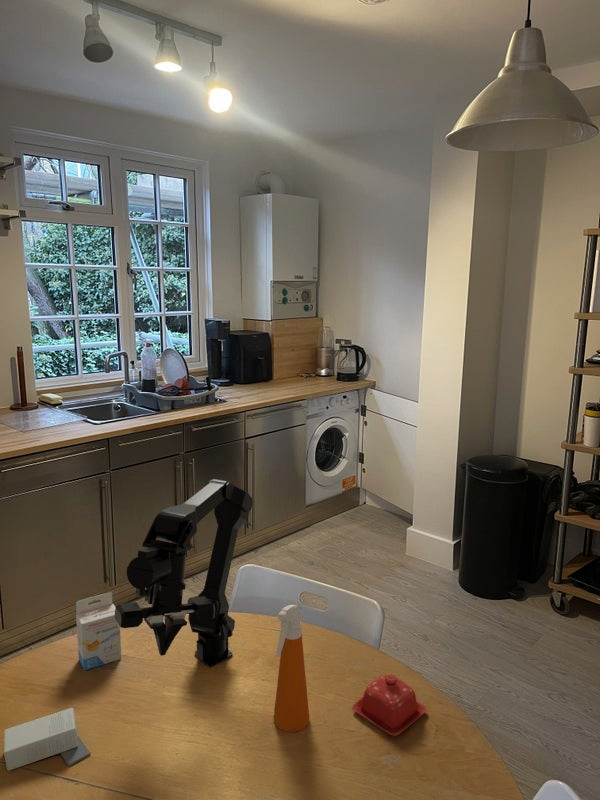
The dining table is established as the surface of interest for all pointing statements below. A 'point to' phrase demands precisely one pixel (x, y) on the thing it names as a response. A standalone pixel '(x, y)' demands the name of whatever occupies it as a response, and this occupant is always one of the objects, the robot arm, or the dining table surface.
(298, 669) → the spray bottle
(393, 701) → the butter dish
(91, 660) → the ink box
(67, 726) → the skincare box
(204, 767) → the dining table surface
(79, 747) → the flat gray block
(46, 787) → the dining table surface
